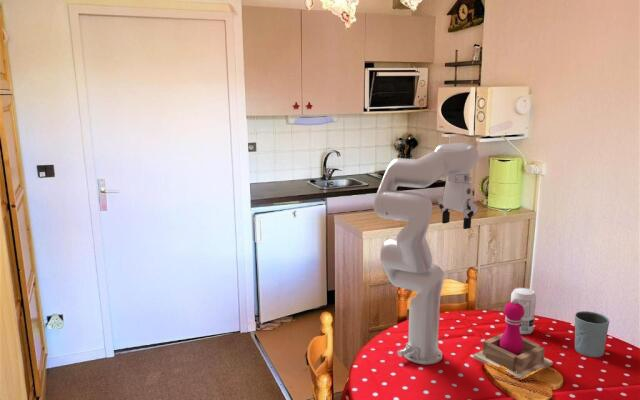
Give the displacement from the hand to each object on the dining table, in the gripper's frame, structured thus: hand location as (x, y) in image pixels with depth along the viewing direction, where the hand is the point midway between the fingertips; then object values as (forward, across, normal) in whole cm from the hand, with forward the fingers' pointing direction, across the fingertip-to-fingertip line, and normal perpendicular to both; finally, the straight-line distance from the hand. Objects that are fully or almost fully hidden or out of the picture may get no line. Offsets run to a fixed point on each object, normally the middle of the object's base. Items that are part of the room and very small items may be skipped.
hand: (456, 225), depth 178 cm
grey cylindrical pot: (+38, -39, -23) cm, 59 cm away
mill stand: (+38, -29, +4) cm, 48 cm away
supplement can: (+38, -17, -18) cm, 46 cm away
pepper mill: (+37, -28, +4) cm, 47 cm away
